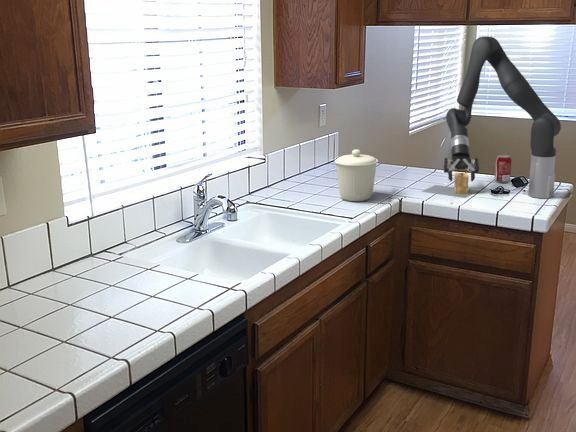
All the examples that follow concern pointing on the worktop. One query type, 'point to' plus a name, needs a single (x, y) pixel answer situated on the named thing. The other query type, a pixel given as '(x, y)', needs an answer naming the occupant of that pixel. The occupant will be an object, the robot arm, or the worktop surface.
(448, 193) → the slate base plate
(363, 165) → the canister
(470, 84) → the robot arm
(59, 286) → the worktop surface
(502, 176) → the soda can
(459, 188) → the ochre knob
